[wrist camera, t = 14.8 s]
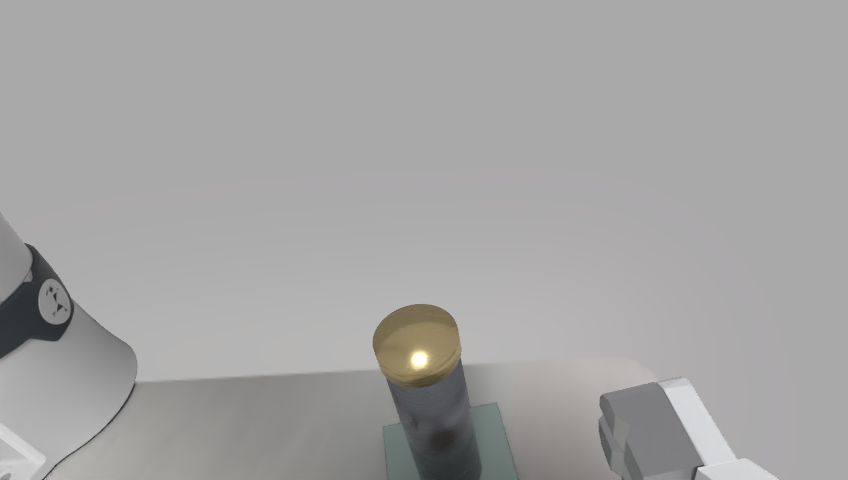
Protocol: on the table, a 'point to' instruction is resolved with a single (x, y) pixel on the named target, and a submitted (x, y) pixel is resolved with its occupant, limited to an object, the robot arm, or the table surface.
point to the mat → (490, 439)
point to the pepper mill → (429, 390)
